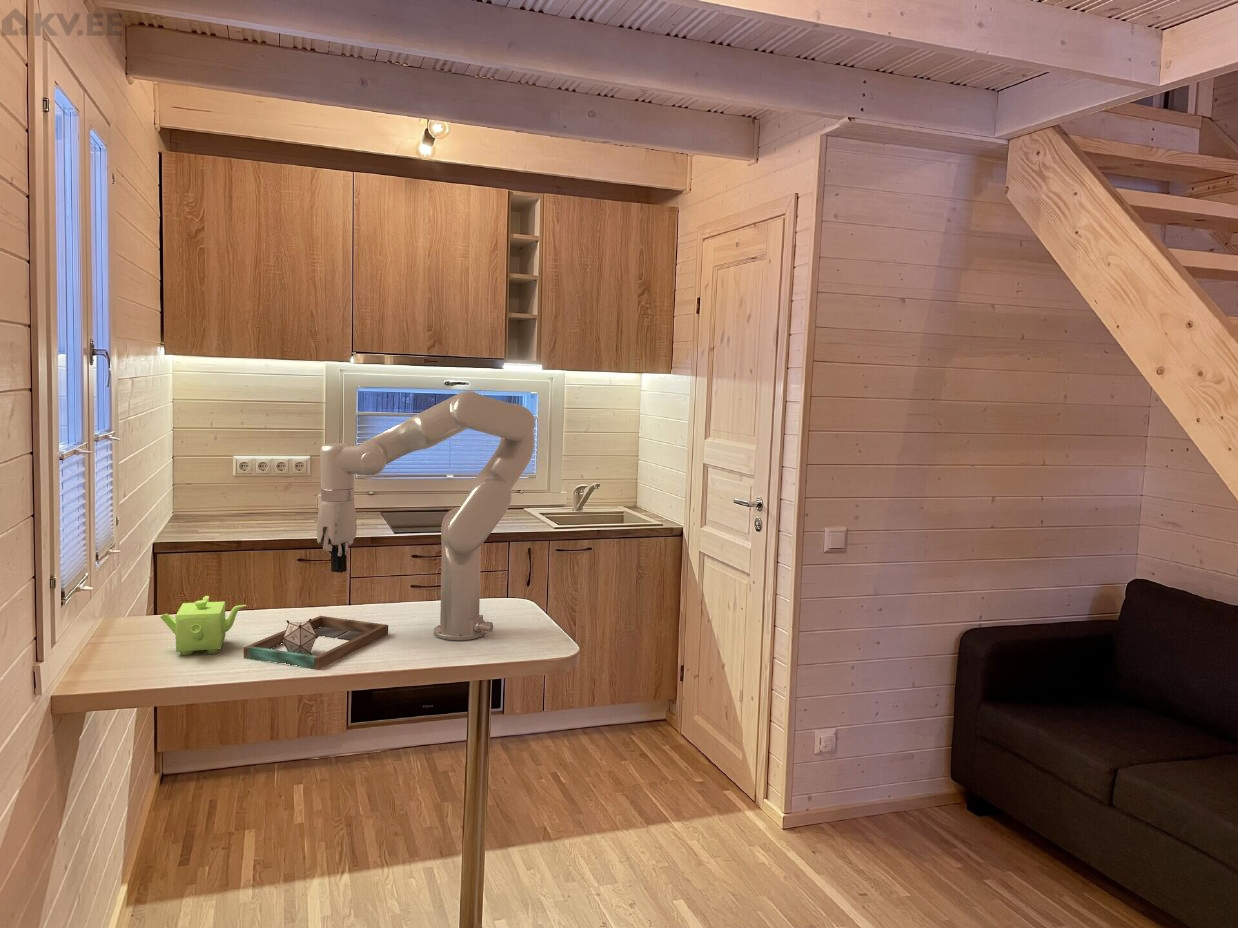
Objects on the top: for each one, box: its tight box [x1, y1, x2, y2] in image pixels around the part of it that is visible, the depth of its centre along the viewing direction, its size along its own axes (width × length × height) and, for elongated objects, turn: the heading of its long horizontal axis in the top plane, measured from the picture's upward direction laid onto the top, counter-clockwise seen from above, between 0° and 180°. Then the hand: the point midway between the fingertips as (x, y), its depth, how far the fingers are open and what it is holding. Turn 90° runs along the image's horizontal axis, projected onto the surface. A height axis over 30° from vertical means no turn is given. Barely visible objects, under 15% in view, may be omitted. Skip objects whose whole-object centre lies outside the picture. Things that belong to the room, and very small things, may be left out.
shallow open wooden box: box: [243, 615, 389, 670], centre depth 213 cm, size 19×28×2 cm
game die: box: [279, 618, 321, 655], centre depth 205 cm, size 9×8×10 cm
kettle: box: [159, 595, 247, 656], centre depth 207 cm, size 15×14×11 cm
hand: (338, 571), depth 218 cm, fingers closed
